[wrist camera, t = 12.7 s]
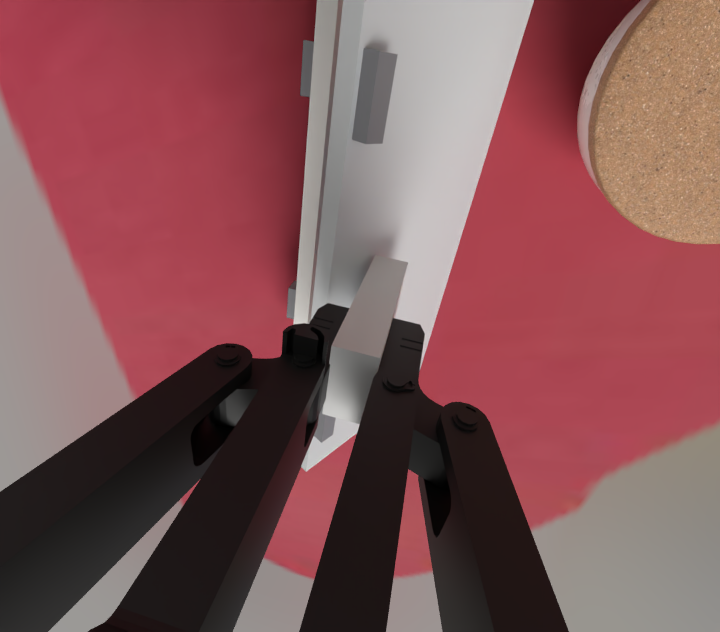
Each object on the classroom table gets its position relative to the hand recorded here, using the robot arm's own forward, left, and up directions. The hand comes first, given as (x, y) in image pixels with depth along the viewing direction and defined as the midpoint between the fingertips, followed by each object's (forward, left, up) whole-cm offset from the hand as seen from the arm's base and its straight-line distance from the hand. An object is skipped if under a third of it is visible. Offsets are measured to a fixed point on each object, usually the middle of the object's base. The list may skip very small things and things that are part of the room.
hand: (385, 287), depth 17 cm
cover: (0, 0, -3) cm, 3 cm away
